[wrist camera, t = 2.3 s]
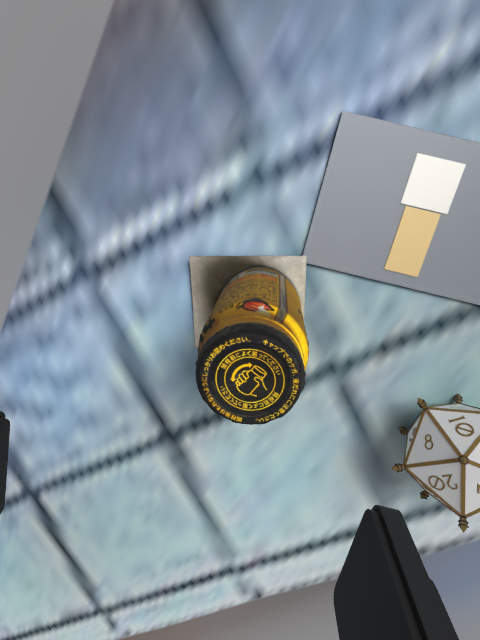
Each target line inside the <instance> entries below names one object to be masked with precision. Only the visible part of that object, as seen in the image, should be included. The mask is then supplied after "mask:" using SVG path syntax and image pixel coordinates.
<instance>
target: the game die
mask: <svg viewBox="0 0 480 640" xmlns="http://www.w3.org/2000/svg"><path fill="white" fill-rule="evenodd" d="M454 398H455V399H454V400H455V402H456V403H454V404H446V405H438V406H430V407H427V405H426V402H425V401H424V400H422V399H420V398H418V403H417V404H418V405H419V407H421V408H423V410H422V412H421V413H420V415H419V416H418V418H417V419H416V421H415V422H414V424H413V425H412V426H411V428H410V429H409V430H408V429H407V428H404V427H401V428H399V430H400V432H401V433H403V434H407V440H406V448H405V456H404V463H403V464H399V463H398V464H395V466H394V467H393V468H392V470H395V471H397V472H399V471H401V472H402V470H404V469H405V470H406V471H407V472H408V473H409V474H410V475H411V476H412V477H413V478H414V479H415V480H416V481H417V482H418V484H419V485H420V486H421V487H422V488H423V489H424V491H422V492H421V493H420V495H421V499H427V497H429V494H430V495H431V496H433V497H434V498H435V499H437V500H438V501H439V502H441V503H442V504H443V505H445V506H446V507H447V508H449V509H450V510H451V511H453V512H454V513H455V514H457V515H458V516H460V520H459V521H458V522H459V525H458V526H460V528H461V529H462V531H463V533H464V532H465V530H466V529H467V528H469V527H468V526H467V524H468V522H467V521H466V518H467V517H469V516H472V515H474V514H476V513H479V512H480V408H477V407H473V406H469V405H465V404H461V402H462V401H463V400H462V398H463V397H461V396H460V395H459V394H457V395H456V396H455V397H454Z"/></svg>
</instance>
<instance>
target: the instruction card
mask: <svg viewBox="0 0 480 640" xmlns="http://www.w3.org/2000/svg"><path fill="white" fill-rule="evenodd" d="M302 256H307V260H306V263H308V264H312V265H316V266H320V267H324V268H329V269H333V270H337V271H341V272H345V273H349V274H353V275H357V276H361V277H366V278H370V279H374V280H378V281H382V282H386V283H390V284H394V285H398V286H403V287H407V288H411V289H415V290H419V291H423V292H427V293H431V294H435V295H440V296H444V297H448V298H452V299H456V300H460V301H464V302H468V303H472V304H477V305H480V143H478V142H473V141H469V140H465V139H460V138H456V137H452V136H448V135H443V134H439V133H435V132H431V131H426V130H422V129H418V128H413V127H409V126H405V125H401V124H396V123H392V122H388V121H384V120H379V119H375V118H371V117H366V116H362V115H358V114H354V113H349V112H345V111H342V114H341V118H340V121H339V125H338V129H337V132H336V136H335V139H334V143H333V147H332V150H331V154H330V158H329V161H328V165H327V168H326V172H325V176H324V179H323V183H322V186H321V190H320V194H319V197H318V201H317V205H316V208H315V212H314V215H313V219H312V223H311V226H310V230H309V233H308V237H307V241H306V244H305V248H304V252H303V255H302Z"/></svg>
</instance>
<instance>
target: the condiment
mask: <svg viewBox="0 0 480 640" xmlns="http://www.w3.org/2000/svg"><path fill="white" fill-rule="evenodd" d="M189 259H190V270H191V286H192V301H193V319H194V337H195V348H198V359H197V362H196V381H197V386H198V390H199V392H200V394H201V396H202V399H203V400H204V401H205V402H206V403H207V404H208V406H209V407H210V408H211V409H212V410H213V411H214V412H215V413H217V414H219V415H221V416H223V417H224V418H226V419H229V420H231V421H232V422H235V423H241V424H250V425H252V424H265V423H268V422H270V421H272V420H274V419H277V418H281V417H282V416H284V415H285V414H286V413H288V412H289V411H290V410H291V408H292V407H293V406H294V404H295V403H296V401H297V400H298V398H299V396H300V393H301V392H302V390H303V388H304V385H305V375H306V373H305V370H306V366H307V361H308V357H309V348H308V347H309V343H308V340H307V334H306V331H305V326H304V308H305V284H306V260H307V256H189Z"/></svg>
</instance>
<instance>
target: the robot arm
mask: <svg viewBox="0 0 480 640" xmlns="http://www.w3.org/2000/svg"><path fill="white" fill-rule="evenodd" d="M9 432H10V421H9V420H8V419H5V414H4V413H3V412H1V411H0V514H1V512H2V510H3V508H4V504H5V492H6V477H7V462H8V447H9ZM334 607H335V614H336V620H337V626H338V633H339V639H340V640H459V639H458V636H457V634H456V632H455V630H454V627H453V625H452V623H451V620H450V618H449V616H448V613H447V611H446V609H445V607H444V604H443V602H442V600H441V598H440V595H439V593H438V591H437V588H436V586H435V585H434V583H433V581H432V580H431V579H430V578H429V577H428V574H427V572H426V570H425V568H424V565H423V563H422V560H421V558H420V556H419V553H418V551H417V549H416V546H415V544H414V542H413V539H412V537H411V535H410V532H409V530H408V528H407V525H406V523H405V521H404V518H403V516H402V514H401V512H400V511H398V510H395V509H391V508H387V507H383V506H379V505H375V506H374V507H373V508H372V510H370V509H367V510H366V511H365V513H364V515H363V518H362V520H361V523H360V525H359V528H358V530H357V533H356V535H355V538H354V540H353V543H352V545H351V548H350V550H349V553H348V555H347V558H346V560H345V563H344V565H343V568H342V570H341V573H340V575H339V578H338V581H337V583H336V586H335V590H334Z"/></svg>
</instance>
